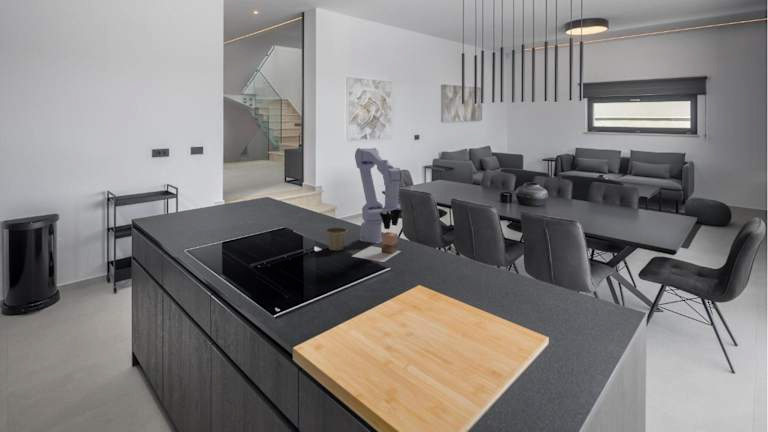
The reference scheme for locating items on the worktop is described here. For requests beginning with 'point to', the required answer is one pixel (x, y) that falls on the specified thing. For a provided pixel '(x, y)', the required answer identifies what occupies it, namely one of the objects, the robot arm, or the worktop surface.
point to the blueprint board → (374, 254)
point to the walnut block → (389, 248)
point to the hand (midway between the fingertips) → (390, 227)
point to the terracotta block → (389, 238)
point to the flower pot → (336, 238)
